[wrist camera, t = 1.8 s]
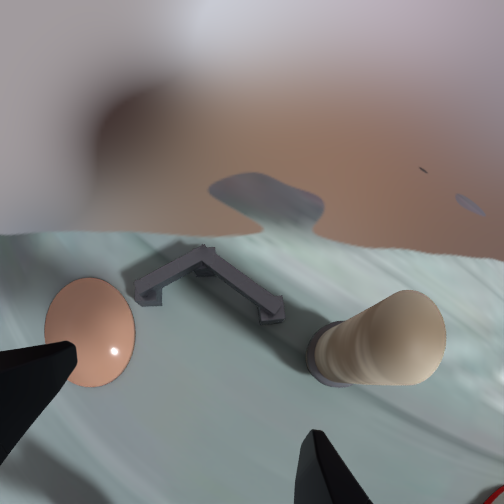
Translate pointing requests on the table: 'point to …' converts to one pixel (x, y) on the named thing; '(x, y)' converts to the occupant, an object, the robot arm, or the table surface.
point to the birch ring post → (381, 344)
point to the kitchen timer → (496, 497)
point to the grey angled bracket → (209, 265)
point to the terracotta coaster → (93, 329)
